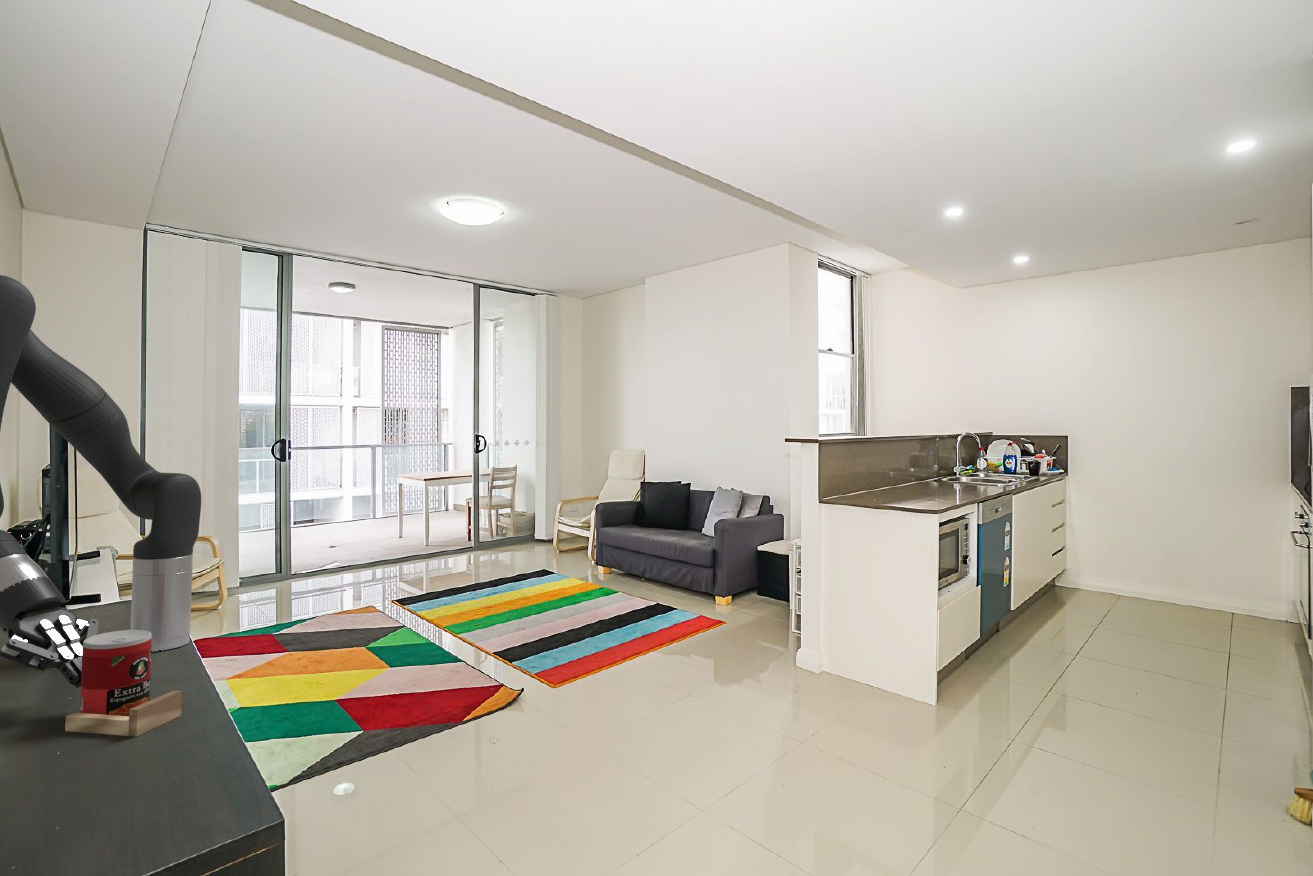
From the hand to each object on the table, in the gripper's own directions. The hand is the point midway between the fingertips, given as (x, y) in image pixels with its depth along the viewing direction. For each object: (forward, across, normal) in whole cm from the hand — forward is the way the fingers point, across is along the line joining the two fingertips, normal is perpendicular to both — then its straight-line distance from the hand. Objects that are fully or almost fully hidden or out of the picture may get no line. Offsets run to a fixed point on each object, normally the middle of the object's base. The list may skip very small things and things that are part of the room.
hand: (87, 682), depth 94 cm
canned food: (+6, 0, 0) cm, 6 cm away
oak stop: (+9, -2, -3) cm, 10 cm away
